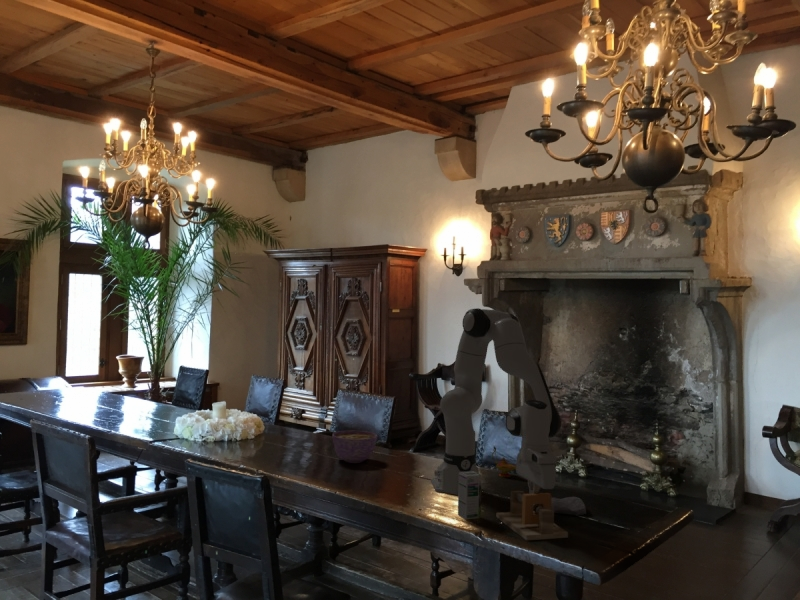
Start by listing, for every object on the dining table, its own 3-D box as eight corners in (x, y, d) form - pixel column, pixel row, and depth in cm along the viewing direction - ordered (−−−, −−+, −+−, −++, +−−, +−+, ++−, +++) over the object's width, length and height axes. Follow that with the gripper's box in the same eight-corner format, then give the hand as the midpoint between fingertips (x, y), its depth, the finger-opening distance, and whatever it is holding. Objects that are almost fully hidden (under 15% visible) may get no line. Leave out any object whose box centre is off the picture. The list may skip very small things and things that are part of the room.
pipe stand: (496, 517, 219) (497, 491, 219) (534, 514, 223) (535, 489, 223) (526, 540, 198) (527, 512, 198) (567, 537, 202) (568, 509, 202)
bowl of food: (376, 456, 301) (377, 431, 301) (376, 467, 281) (377, 440, 281) (332, 455, 300) (333, 429, 300) (329, 465, 280) (330, 438, 280)
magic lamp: (519, 482, 264) (520, 455, 264) (485, 472, 277) (486, 446, 277) (530, 479, 268) (531, 453, 268) (496, 470, 282) (497, 444, 282)
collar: (521, 522, 207) (522, 493, 207) (547, 520, 209) (548, 492, 209) (524, 524, 205) (525, 495, 205) (550, 522, 207) (551, 494, 207)
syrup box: (465, 520, 215) (467, 476, 215) (457, 514, 220) (458, 471, 220) (480, 518, 217) (482, 474, 217) (472, 513, 222) (473, 470, 222)
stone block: (588, 520, 224) (579, 506, 234) (589, 508, 224) (580, 493, 233) (554, 521, 224) (546, 506, 234) (554, 508, 223) (547, 494, 233)
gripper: (511, 445, 219) (510, 487, 219) (541, 459, 199) (540, 505, 199) (528, 445, 220) (527, 486, 220) (559, 459, 201) (558, 504, 201)
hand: (533, 495), depth 209 cm, fingers closed
